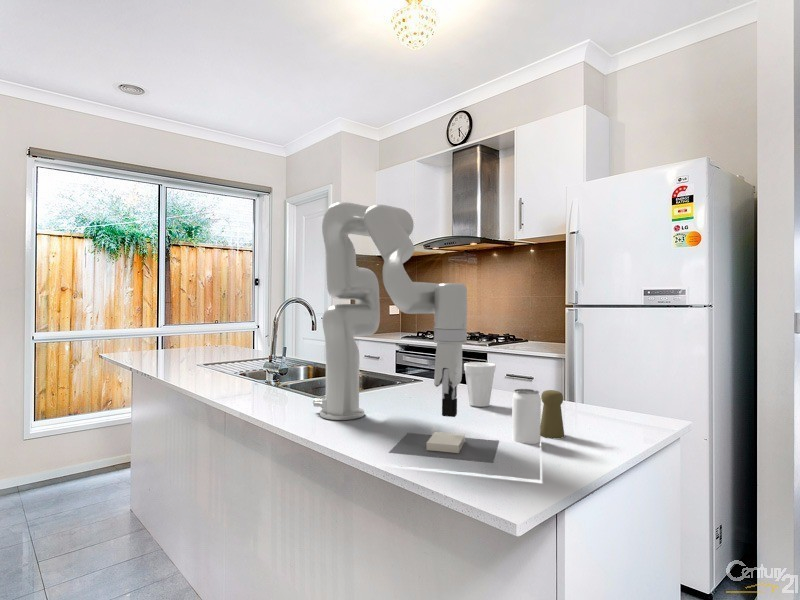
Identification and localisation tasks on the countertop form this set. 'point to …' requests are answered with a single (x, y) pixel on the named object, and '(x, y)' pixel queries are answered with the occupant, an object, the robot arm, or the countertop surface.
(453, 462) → the countertop surface
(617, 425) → the countertop surface
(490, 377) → the cup
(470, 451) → the mat
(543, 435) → the cork
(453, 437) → the tile
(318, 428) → the countertop surface
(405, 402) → the countertop surface
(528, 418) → the can
